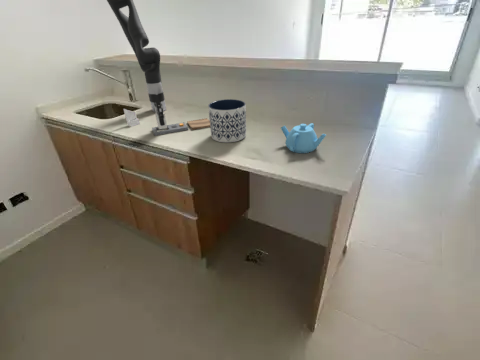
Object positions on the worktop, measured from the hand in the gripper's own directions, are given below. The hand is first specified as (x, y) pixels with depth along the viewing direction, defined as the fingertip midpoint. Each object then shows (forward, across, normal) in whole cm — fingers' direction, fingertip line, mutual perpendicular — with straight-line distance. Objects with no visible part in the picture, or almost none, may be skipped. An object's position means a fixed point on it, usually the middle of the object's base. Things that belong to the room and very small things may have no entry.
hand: (161, 123), depth 146 cm
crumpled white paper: (+5, -19, -14) cm, 24 cm away
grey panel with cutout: (+4, 0, +4) cm, 6 cm away
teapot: (+4, +51, +55) cm, 75 cm away
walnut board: (+4, 0, +21) cm, 21 cm away
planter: (+4, +23, +30) cm, 38 cm away
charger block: (+2, 0, 0) cm, 2 cm away
